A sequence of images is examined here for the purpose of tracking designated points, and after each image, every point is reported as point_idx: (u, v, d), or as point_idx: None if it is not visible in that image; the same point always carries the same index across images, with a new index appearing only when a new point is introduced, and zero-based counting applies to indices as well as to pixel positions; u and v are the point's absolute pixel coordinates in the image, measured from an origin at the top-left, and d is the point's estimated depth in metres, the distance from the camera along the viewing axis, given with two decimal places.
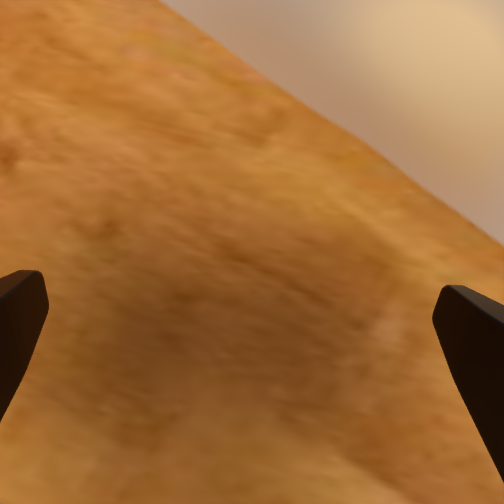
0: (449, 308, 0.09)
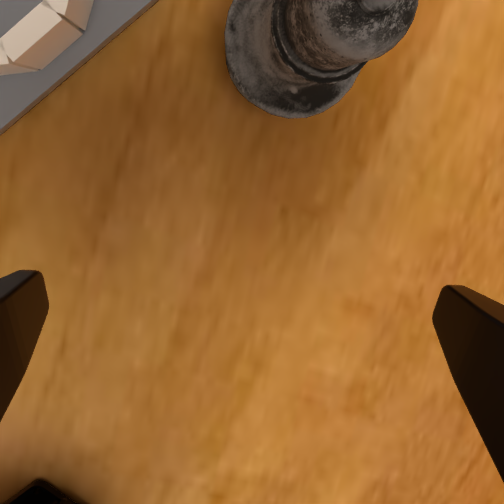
0: (449, 308, 0.09)
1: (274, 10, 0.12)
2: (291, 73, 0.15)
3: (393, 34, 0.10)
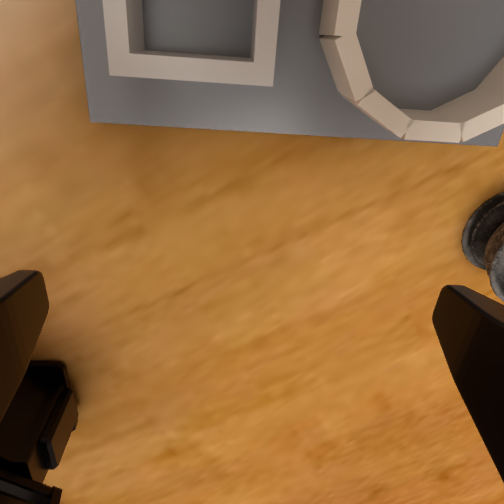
0: (449, 308, 0.09)
1: None
2: None
3: None
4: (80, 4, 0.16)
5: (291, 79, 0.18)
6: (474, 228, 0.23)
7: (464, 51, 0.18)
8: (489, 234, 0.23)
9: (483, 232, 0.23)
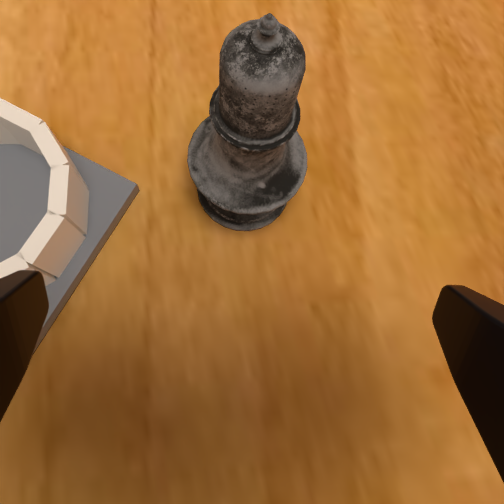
0: (449, 308, 0.09)
1: (213, 119, 0.16)
2: (251, 167, 0.17)
3: (295, 62, 0.13)
4: None
5: None
6: (221, 216, 0.22)
7: (37, 196, 0.21)
8: None
9: None
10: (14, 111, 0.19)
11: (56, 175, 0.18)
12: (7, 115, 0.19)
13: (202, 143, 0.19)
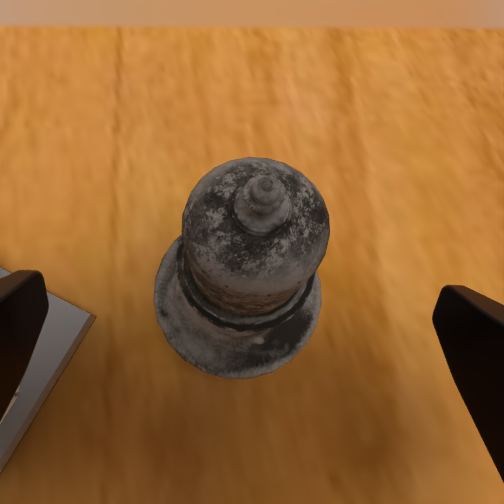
0: (449, 308, 0.09)
1: (181, 281, 0.10)
2: None
3: (313, 240, 0.07)
4: None
5: None
6: None
7: None
8: None
9: None
10: None
11: None
12: None
13: (174, 275, 0.14)
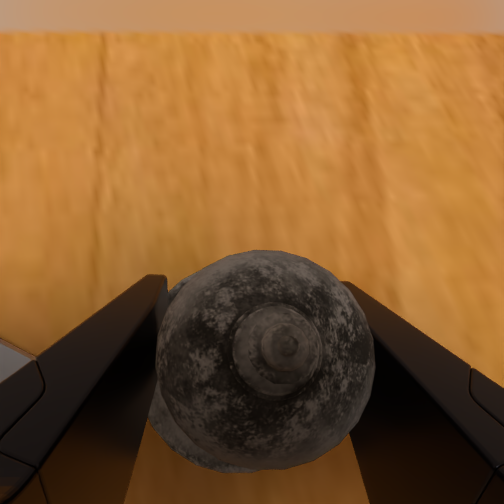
0: None
1: None
2: None
3: (355, 392, 0.05)
4: None
5: None
6: None
7: None
8: None
9: None
10: None
11: None
12: None
13: None
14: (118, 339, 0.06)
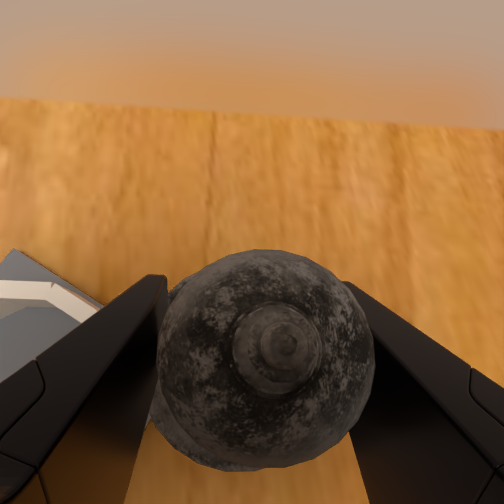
0: None
1: None
2: None
3: (354, 391, 0.05)
4: None
5: None
6: None
7: None
8: None
9: None
10: (70, 300, 0.18)
11: None
12: (63, 305, 0.18)
13: None
14: (118, 339, 0.06)
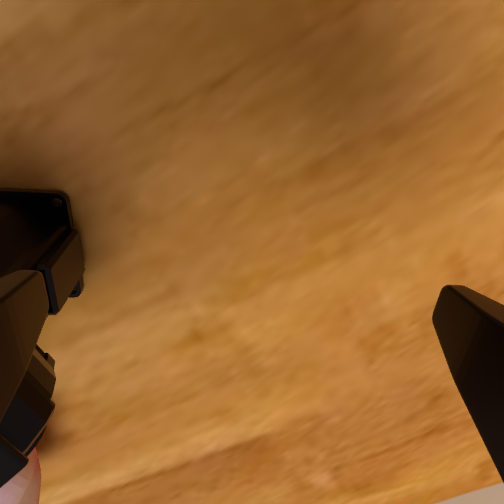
0: (449, 308, 0.09)
1: None
2: None
3: None
4: None
5: None
6: None
7: None
8: None
9: None
10: None
11: None
12: None
13: None
14: None
